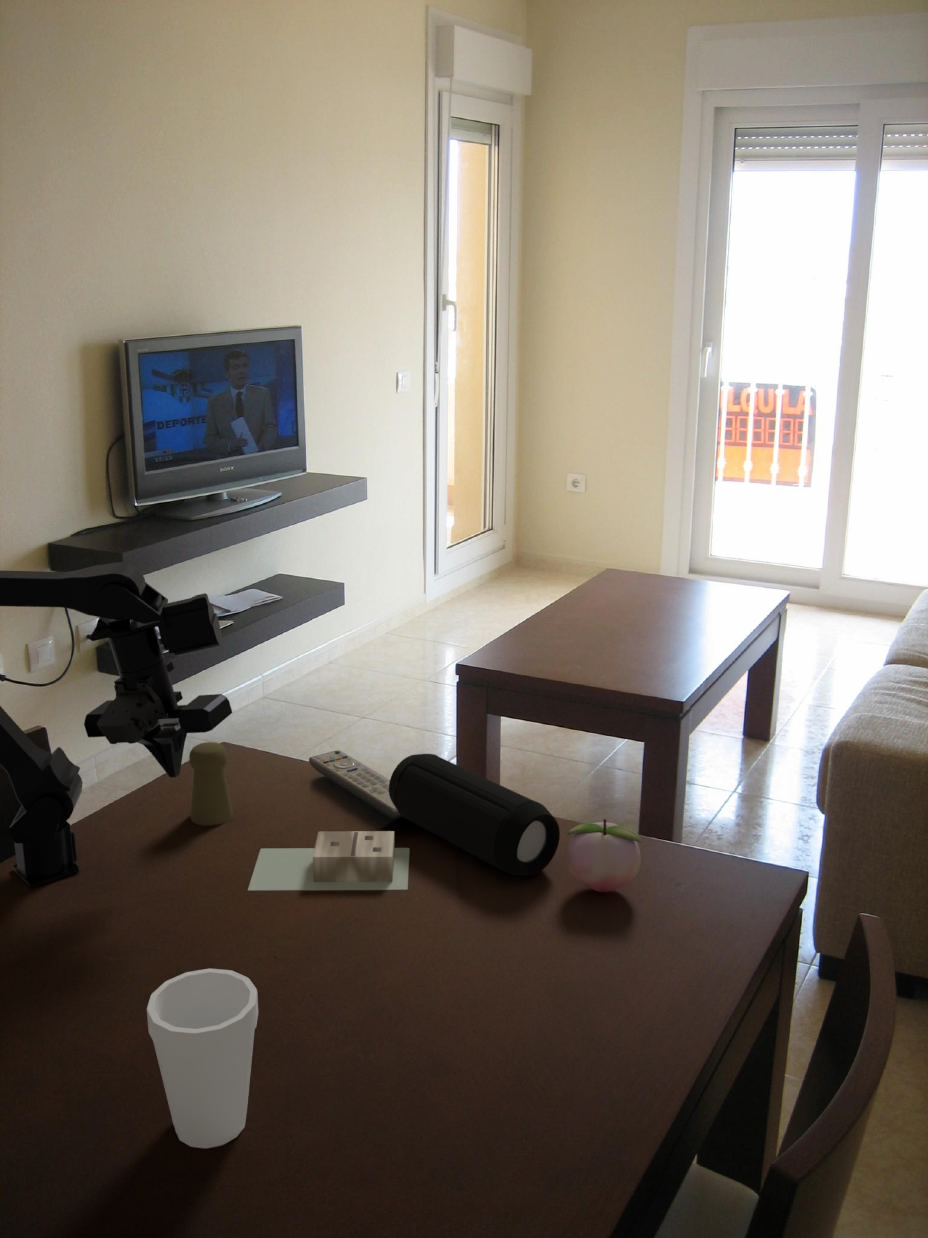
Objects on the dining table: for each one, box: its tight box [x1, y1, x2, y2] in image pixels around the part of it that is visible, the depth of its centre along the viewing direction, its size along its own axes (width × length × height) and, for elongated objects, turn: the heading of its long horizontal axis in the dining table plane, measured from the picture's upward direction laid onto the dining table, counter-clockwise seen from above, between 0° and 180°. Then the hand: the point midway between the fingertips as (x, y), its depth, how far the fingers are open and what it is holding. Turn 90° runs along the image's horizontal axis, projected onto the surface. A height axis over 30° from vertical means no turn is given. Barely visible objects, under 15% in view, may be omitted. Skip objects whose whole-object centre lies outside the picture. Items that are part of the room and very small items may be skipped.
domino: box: [313, 830, 395, 882], centre depth 149 cm, size 4×7×10 cm
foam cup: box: [146, 968, 259, 1149], centre depth 103 cm, size 10×9×13 cm
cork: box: [188, 741, 234, 827], centre depth 162 cm, size 6×6×11 cm
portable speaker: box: [388, 753, 561, 876], centre depth 155 cm, size 26×10×10 cm, turn 42°
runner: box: [247, 847, 411, 892], centre depth 149 cm, size 20×11×1 cm, turn 91°
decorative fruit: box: [566, 818, 644, 893], centre depth 143 cm, size 9×8×10 cm
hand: (175, 776), depth 147 cm, fingers closed
